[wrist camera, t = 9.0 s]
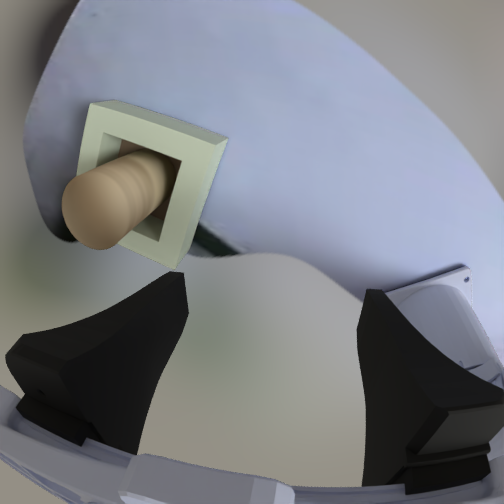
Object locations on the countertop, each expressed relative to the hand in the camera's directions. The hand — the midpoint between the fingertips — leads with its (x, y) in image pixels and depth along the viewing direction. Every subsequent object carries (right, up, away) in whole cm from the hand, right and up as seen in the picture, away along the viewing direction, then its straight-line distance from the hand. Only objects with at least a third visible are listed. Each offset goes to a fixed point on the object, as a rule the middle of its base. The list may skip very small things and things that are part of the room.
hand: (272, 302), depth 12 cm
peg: (-8, +7, +8) cm, 13 cm away
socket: (-8, +7, +8) cm, 13 cm away
